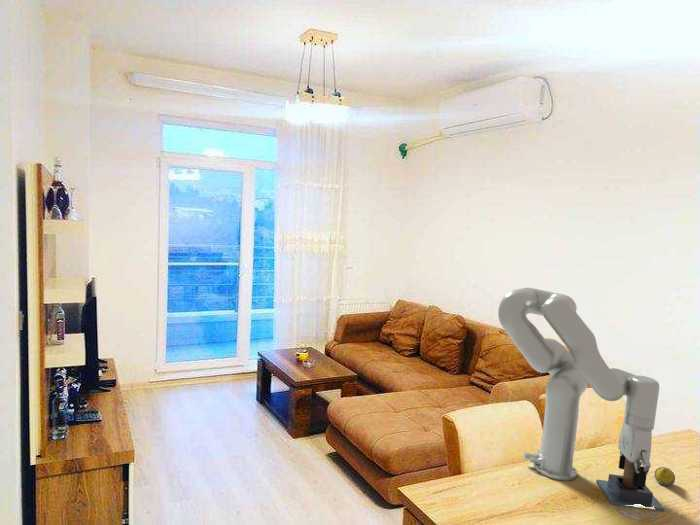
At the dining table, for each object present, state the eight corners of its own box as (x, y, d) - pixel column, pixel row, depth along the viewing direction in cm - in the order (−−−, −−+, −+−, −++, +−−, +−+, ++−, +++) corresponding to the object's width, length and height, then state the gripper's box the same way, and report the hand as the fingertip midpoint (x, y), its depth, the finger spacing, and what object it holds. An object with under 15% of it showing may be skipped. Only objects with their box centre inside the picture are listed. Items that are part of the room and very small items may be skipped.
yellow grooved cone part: (678, 487, 155) (679, 474, 148) (660, 491, 156) (660, 478, 150) (669, 470, 159) (669, 457, 152) (651, 474, 160) (651, 461, 153)
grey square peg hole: (611, 504, 141) (612, 491, 141) (595, 481, 153) (597, 469, 153) (664, 511, 140) (666, 498, 139) (644, 488, 151) (646, 476, 151)
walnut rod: (624, 496, 145) (628, 462, 144) (619, 488, 149) (623, 456, 148) (639, 498, 144) (643, 464, 143) (633, 490, 148) (637, 457, 147)
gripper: (613, 407, 153) (606, 461, 155) (638, 431, 136) (630, 491, 138) (639, 410, 152) (632, 464, 154) (668, 434, 135) (659, 495, 137)
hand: (631, 477), depth 146 cm, fingers open, 9 cm apart
